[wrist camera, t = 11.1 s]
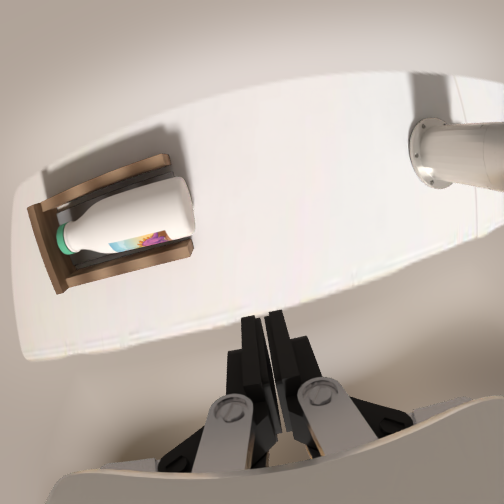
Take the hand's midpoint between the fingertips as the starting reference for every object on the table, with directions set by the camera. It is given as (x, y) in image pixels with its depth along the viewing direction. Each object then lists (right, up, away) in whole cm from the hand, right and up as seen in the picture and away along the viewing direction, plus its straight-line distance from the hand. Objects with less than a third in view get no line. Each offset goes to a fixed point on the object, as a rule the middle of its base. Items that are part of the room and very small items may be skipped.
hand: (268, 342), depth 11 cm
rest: (-21, +8, +27) cm, 35 cm away
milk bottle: (-8, +10, +23) cm, 26 cm away
